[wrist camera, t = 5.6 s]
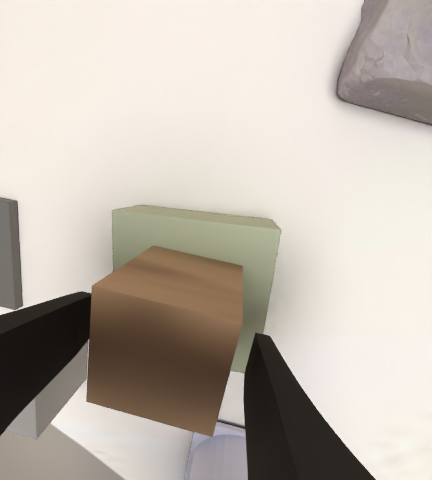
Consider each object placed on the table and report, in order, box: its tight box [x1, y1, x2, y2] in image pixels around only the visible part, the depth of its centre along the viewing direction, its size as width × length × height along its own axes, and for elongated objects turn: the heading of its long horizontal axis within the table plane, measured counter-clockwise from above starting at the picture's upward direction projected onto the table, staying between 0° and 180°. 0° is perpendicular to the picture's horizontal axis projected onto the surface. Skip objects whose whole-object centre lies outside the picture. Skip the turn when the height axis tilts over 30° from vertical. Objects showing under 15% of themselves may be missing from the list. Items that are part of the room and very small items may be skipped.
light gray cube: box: [6, 341, 88, 439], centre depth 17 cm, size 5×5×5 cm
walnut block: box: [86, 246, 243, 437], centre depth 10 cm, size 5×5×5 cm
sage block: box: [112, 205, 281, 373], centre depth 14 cm, size 9×9×4 cm
